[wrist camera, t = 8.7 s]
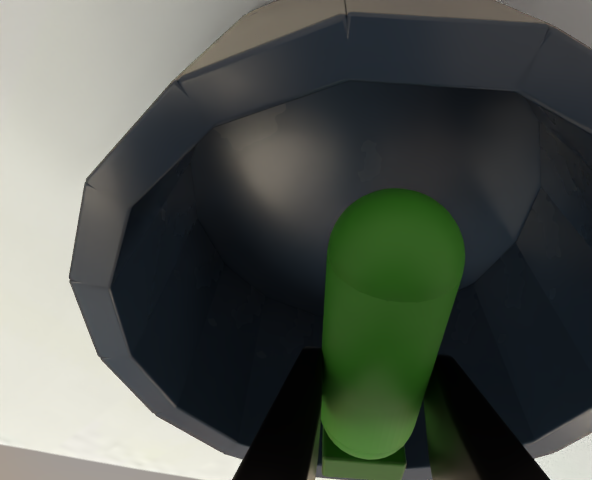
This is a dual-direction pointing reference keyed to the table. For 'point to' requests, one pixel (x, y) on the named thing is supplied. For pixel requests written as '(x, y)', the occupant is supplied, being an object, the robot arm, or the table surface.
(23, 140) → the table surface
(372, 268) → the zucchini
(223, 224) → the pot
